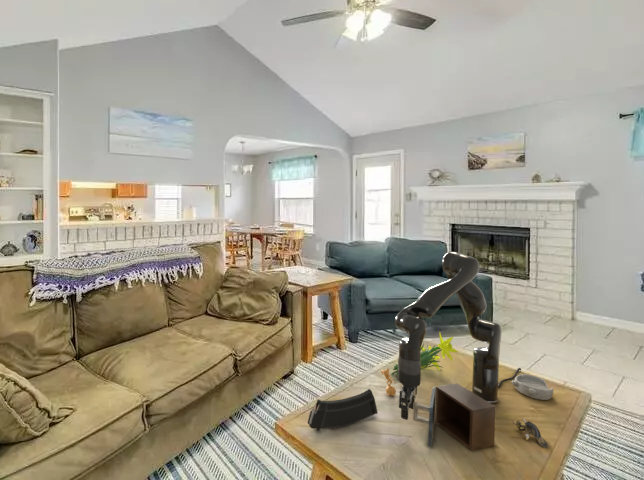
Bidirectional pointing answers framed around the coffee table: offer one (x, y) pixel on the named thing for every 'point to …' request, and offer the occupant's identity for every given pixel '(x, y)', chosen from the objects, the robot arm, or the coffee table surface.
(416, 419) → the cupboard door
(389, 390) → the figurine
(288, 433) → the coffee table surface
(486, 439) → the cupboard
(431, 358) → the daffodil flowers
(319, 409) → the magazine
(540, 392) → the dish
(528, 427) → the animal figure
